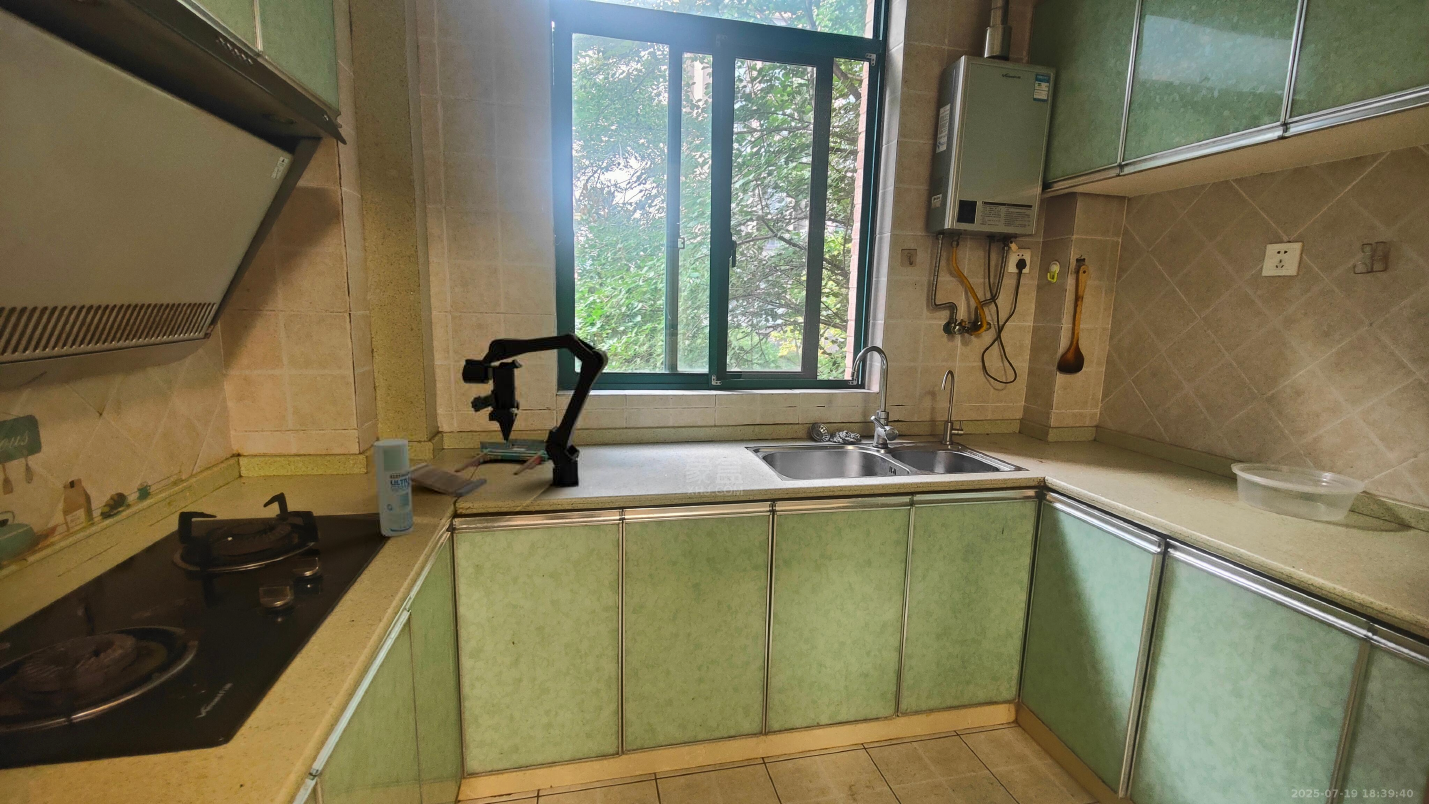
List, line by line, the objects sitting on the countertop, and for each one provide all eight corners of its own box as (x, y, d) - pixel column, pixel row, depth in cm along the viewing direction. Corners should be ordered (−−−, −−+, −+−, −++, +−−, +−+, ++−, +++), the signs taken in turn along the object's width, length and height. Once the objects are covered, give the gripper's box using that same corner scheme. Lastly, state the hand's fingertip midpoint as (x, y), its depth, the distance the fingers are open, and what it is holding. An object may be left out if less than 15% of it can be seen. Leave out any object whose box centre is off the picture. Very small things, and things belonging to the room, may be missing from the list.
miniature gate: (441, 464, 169) (489, 434, 198) (443, 482, 170) (491, 450, 199) (531, 467, 166) (567, 437, 195) (532, 486, 168) (568, 453, 197)
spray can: (392, 539, 124) (385, 447, 120) (374, 532, 127) (366, 443, 124) (420, 529, 129) (414, 440, 126) (402, 523, 132) (396, 437, 129)
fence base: (487, 485, 160) (486, 478, 159) (463, 500, 148) (462, 492, 147) (480, 485, 160) (479, 478, 159) (455, 499, 148) (455, 492, 148)
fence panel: (474, 480, 159) (423, 462, 160) (452, 491, 149) (399, 473, 150) (473, 484, 159) (422, 467, 160) (451, 496, 149) (398, 478, 150)
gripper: (477, 380, 166) (480, 433, 169) (466, 389, 148) (469, 449, 151) (519, 380, 169) (520, 432, 171) (512, 389, 151) (514, 448, 154)
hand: (506, 440), depth 162 cm, fingers closed
